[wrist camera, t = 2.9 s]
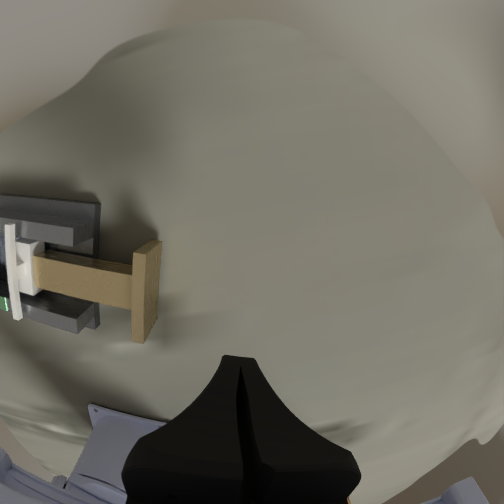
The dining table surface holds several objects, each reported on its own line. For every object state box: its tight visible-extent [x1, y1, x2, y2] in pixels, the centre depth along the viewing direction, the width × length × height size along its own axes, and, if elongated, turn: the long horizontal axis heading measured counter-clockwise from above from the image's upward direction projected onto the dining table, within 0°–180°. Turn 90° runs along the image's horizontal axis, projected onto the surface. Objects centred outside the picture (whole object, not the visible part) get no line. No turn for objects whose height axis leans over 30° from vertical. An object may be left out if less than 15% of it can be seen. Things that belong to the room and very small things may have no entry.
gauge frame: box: [0, 194, 101, 334], centre depth 18 cm, size 12×10×5 cm
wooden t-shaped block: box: [33, 239, 162, 344], centre depth 18 cm, size 10×6×4 cm, turn 81°
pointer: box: [5, 223, 45, 321], centre depth 17 cm, size 2×7×4 cm, turn 171°
